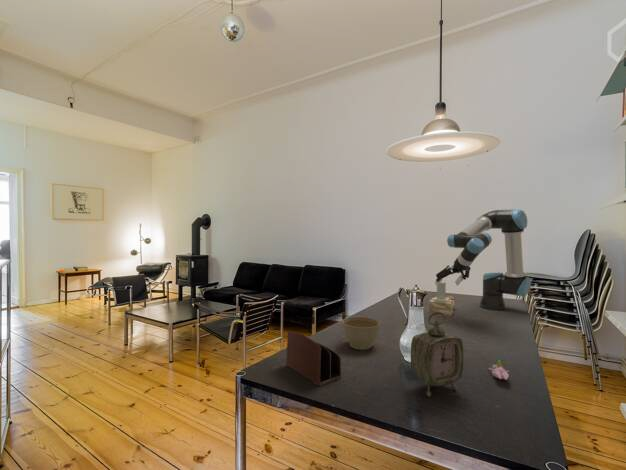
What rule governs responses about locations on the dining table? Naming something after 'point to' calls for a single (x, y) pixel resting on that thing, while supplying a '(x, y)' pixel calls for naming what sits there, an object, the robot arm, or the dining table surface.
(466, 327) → the dining table surface
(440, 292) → the grey green flanged column
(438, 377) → the tabletop clock
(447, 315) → the beige streaked bowl
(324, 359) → the letter holder
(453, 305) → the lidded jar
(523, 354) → the dining table surface
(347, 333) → the planter bowl
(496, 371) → the pink flower
